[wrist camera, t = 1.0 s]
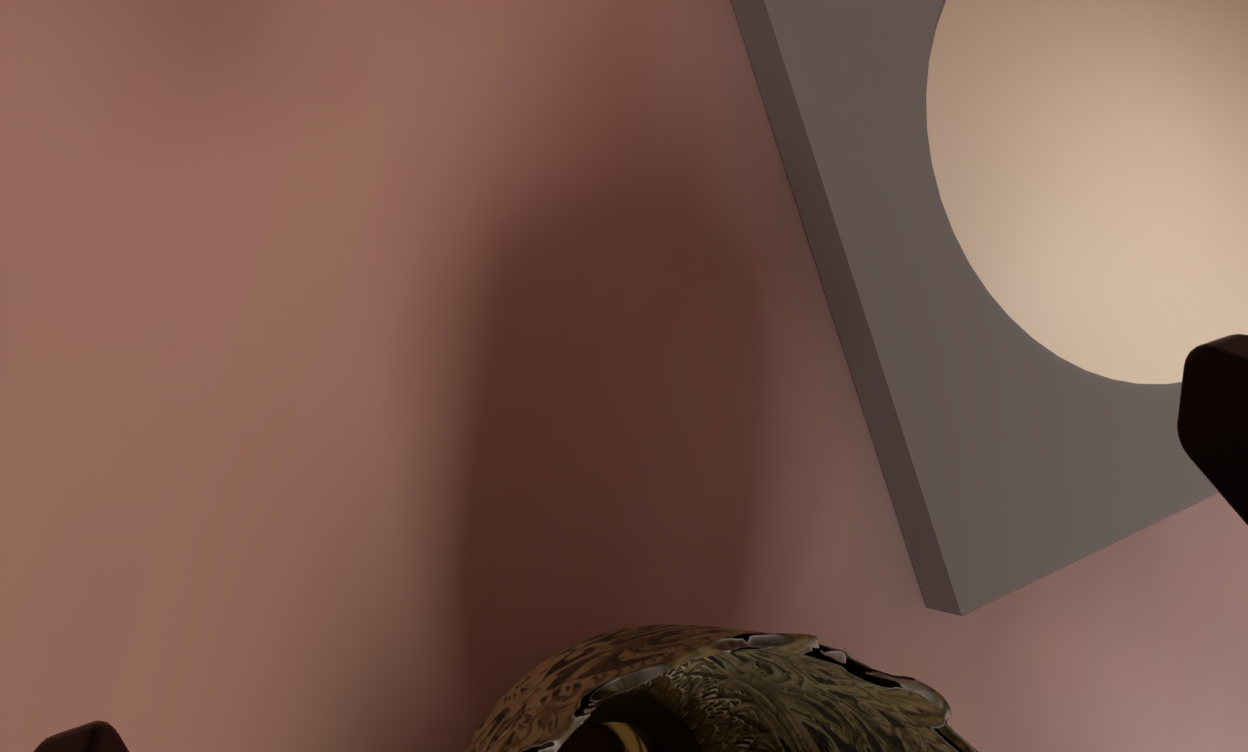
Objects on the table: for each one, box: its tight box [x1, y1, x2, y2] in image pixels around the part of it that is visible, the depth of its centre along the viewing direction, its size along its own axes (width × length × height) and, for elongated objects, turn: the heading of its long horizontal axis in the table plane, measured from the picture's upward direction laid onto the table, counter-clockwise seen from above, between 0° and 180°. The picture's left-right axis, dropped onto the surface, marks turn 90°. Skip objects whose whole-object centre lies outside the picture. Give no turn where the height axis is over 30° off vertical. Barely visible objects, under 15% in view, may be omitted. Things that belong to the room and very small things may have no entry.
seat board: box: [731, 0, 1248, 616], centre depth 24 cm, size 16×16×1 cm
